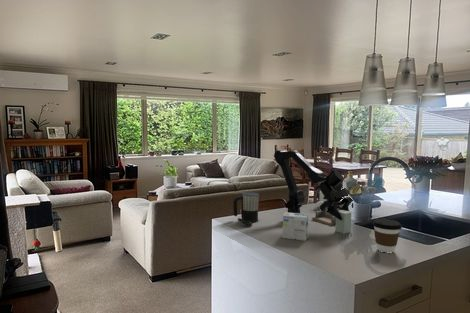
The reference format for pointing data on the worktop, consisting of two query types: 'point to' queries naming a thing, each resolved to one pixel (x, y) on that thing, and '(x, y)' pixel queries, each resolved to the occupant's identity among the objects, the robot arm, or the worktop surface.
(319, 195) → the pneumatic valve
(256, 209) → the milk frother
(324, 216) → the brown shallow tray
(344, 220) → the block
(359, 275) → the worktop surface
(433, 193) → the worktop surface
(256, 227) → the worktop surface
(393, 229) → the coffee cup
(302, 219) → the light bulb box
